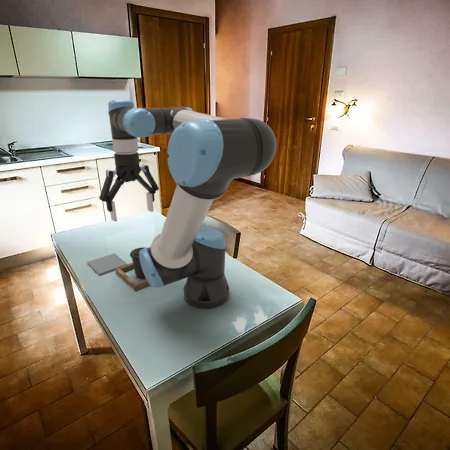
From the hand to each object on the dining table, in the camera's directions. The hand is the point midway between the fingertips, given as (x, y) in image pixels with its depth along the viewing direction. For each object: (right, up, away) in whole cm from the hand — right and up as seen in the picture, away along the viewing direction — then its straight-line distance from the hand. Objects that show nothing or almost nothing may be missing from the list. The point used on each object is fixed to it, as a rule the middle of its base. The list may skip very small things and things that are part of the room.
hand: (133, 215), depth 108 cm
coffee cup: (+2, -22, +8) cm, 23 cm away
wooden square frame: (+2, -21, +8) cm, 23 cm away
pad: (-14, -18, +13) cm, 27 cm away
